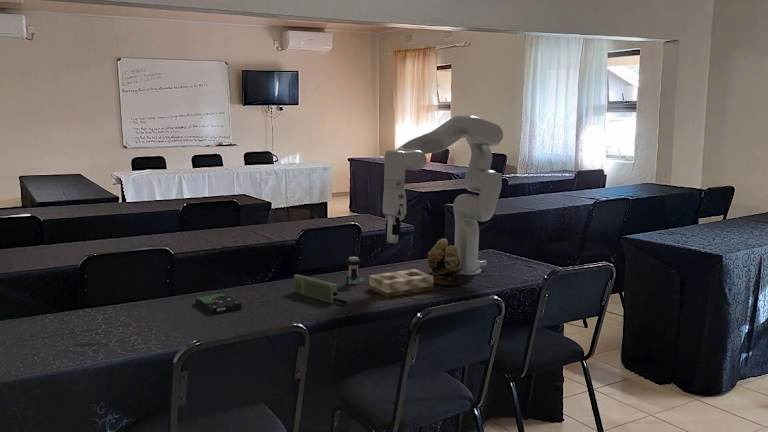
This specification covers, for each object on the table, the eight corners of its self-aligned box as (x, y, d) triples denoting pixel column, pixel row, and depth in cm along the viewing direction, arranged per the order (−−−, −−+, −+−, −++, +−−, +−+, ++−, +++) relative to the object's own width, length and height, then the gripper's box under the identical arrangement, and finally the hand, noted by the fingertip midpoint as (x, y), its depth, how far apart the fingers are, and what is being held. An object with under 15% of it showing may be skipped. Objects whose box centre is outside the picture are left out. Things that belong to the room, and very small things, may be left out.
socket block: (414, 281, 253) (414, 269, 252) (433, 289, 243) (433, 276, 242) (369, 288, 243) (369, 275, 242) (386, 297, 233) (387, 283, 232)
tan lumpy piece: (471, 285, 251) (472, 240, 248) (447, 290, 244) (449, 244, 241) (439, 274, 265) (440, 232, 262) (416, 279, 258) (417, 236, 255)
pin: (394, 240, 248) (395, 214, 246) (399, 242, 244) (400, 215, 243) (385, 241, 246) (385, 214, 244) (390, 243, 242) (391, 216, 241)
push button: (359, 280, 254) (359, 255, 252) (366, 284, 249) (366, 258, 248) (343, 282, 250) (344, 256, 249) (350, 286, 246) (350, 259, 244)
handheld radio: (299, 291, 239) (350, 305, 223) (292, 293, 237) (343, 307, 221) (298, 273, 238) (349, 286, 222) (292, 275, 236) (342, 288, 220)
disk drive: (242, 311, 217) (223, 299, 228) (242, 302, 216) (223, 291, 228) (212, 316, 211) (194, 304, 222) (212, 308, 210) (194, 296, 222)
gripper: (415, 186, 236) (413, 237, 239) (391, 181, 251) (389, 229, 254) (397, 187, 233) (395, 238, 236) (374, 182, 247) (372, 230, 250)
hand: (392, 233), depth 245 cm, fingers closed on pin, 4 cm apart
